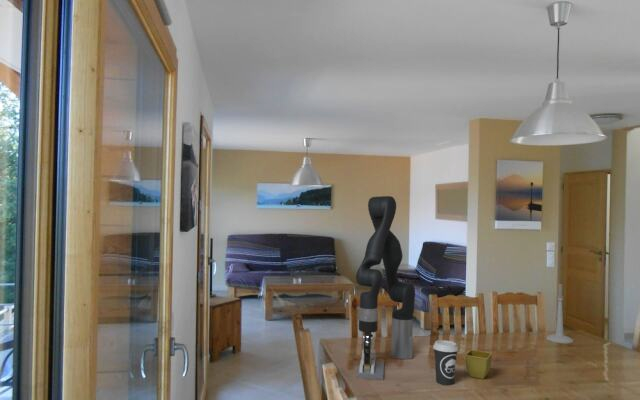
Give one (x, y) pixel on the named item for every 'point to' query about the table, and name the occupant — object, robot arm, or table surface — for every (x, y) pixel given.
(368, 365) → the brass bolt
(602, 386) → the table surface
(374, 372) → the door and jamb plate
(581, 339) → the table surface
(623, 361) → the table surface
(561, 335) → the candlestick
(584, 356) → the table surface
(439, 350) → the coffee cup
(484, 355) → the flower pot
